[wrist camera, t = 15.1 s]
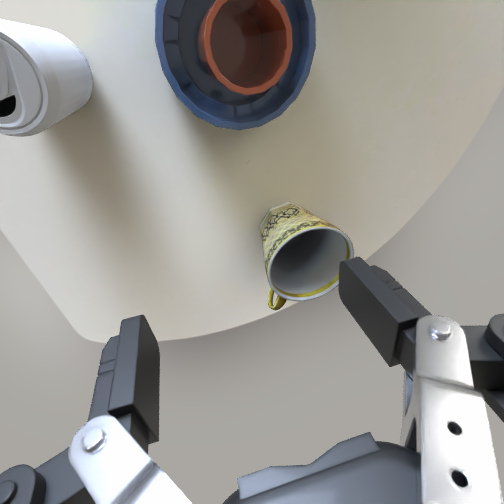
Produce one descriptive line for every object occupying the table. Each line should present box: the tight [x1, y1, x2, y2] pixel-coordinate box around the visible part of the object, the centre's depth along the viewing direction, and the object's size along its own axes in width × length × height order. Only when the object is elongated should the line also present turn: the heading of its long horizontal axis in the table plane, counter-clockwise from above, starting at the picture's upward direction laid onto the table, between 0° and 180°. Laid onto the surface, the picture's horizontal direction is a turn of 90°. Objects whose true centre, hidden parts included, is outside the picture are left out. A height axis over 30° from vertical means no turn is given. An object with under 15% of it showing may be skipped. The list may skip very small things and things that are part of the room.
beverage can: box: [0, 19, 93, 136], centre depth 22 cm, size 6×6×12 cm
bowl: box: [155, 0, 316, 130], centre depth 27 cm, size 13×13×5 cm
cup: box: [196, 0, 293, 95], centre depth 25 cm, size 6×6×8 cm
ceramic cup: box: [260, 202, 354, 310], centre depth 38 cm, size 13×10×10 cm
